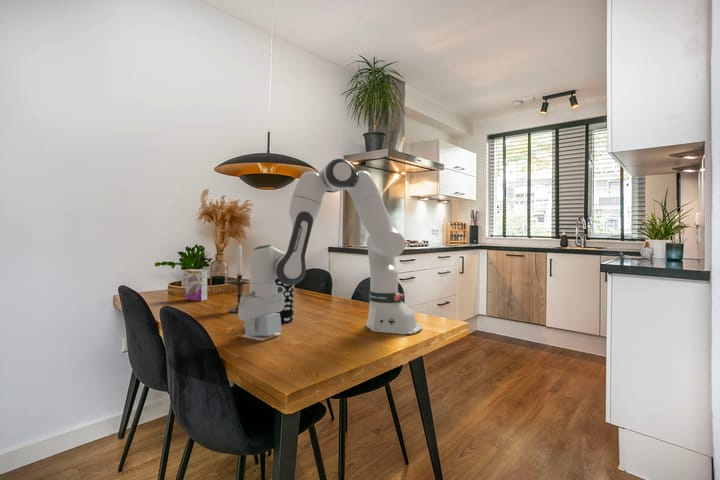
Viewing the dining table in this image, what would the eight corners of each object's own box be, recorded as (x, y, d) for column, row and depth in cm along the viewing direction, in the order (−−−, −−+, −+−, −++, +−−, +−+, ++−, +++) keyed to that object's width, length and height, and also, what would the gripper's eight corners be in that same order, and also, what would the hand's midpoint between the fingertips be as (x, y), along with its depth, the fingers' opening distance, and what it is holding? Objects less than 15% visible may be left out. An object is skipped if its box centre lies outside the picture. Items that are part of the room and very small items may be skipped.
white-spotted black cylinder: (288, 324, 148) (289, 275, 147) (269, 322, 149) (270, 274, 149) (296, 319, 156) (296, 273, 155) (278, 318, 157) (278, 272, 157)
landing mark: (281, 333, 134) (281, 333, 134) (262, 340, 125) (262, 340, 125) (261, 329, 138) (261, 329, 138) (241, 336, 130) (241, 335, 130)
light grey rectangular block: (281, 330, 132) (279, 312, 132) (268, 335, 125) (266, 316, 126) (259, 331, 137) (257, 313, 137) (245, 335, 131) (243, 317, 131)
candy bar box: (184, 300, 195) (184, 269, 194) (191, 298, 199) (191, 269, 199) (201, 301, 191) (201, 270, 191) (207, 300, 196) (207, 269, 196)
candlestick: (223, 310, 170) (223, 236, 169) (244, 307, 178) (244, 236, 177) (234, 314, 163) (234, 237, 162) (255, 311, 170) (256, 237, 170)
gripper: (247, 295, 121) (247, 336, 121) (287, 287, 139) (286, 322, 139) (233, 293, 124) (233, 333, 124) (274, 285, 142) (274, 320, 142)
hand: (262, 327), depth 132 cm, fingers closed on light grey rectangular block, 7 cm apart
